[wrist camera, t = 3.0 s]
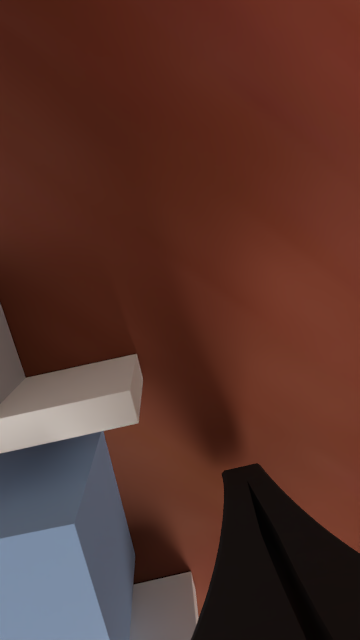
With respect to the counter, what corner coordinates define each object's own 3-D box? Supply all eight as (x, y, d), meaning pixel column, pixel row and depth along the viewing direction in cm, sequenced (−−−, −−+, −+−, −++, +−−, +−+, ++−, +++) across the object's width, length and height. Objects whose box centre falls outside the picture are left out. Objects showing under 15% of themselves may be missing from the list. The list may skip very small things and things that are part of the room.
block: (135, 551, 14) (125, 692, 10) (-7, 580, 14) (-83, 736, 9) (103, 426, 13) (74, 523, 8) (-56, 456, 12) (-172, 572, 8)
